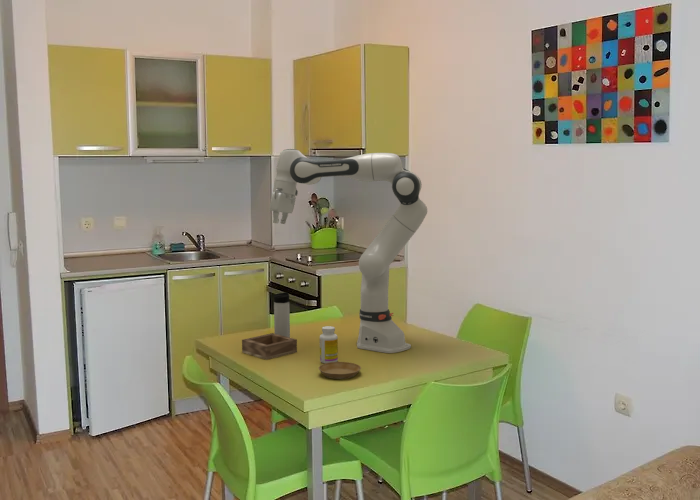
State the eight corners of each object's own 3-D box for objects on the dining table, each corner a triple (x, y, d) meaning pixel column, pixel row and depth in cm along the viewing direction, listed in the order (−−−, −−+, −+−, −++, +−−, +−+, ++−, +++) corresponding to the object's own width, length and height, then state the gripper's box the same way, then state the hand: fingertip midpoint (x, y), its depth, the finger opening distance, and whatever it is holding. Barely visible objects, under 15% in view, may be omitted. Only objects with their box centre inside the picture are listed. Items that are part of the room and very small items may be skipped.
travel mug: (293, 340, 296) (292, 293, 293) (283, 344, 290) (282, 295, 288) (281, 338, 299) (280, 291, 296) (271, 342, 293) (270, 294, 291)
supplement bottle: (341, 361, 265) (341, 327, 264) (329, 365, 260) (328, 330, 259) (328, 358, 270) (328, 324, 268) (316, 361, 265) (315, 327, 263)
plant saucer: (358, 367, 258) (358, 360, 257) (363, 380, 243) (363, 372, 243) (317, 369, 256) (316, 362, 256) (320, 382, 242) (320, 374, 241)
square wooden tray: (297, 352, 278) (296, 339, 278) (266, 359, 268) (266, 346, 267) (272, 345, 289) (272, 333, 288) (242, 352, 278) (241, 339, 278)
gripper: (284, 188, 276) (278, 224, 277) (299, 192, 296) (294, 225, 297) (268, 186, 278) (263, 221, 278) (284, 189, 298) (279, 222, 298)
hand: (279, 223), depth 288 cm, fingers open, 8 cm apart
